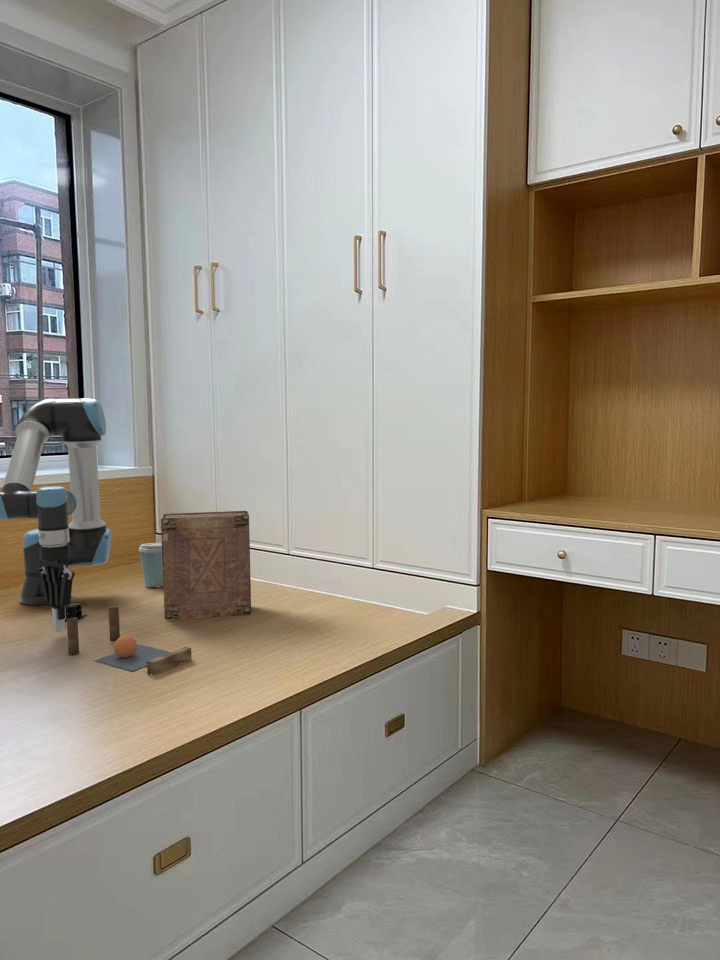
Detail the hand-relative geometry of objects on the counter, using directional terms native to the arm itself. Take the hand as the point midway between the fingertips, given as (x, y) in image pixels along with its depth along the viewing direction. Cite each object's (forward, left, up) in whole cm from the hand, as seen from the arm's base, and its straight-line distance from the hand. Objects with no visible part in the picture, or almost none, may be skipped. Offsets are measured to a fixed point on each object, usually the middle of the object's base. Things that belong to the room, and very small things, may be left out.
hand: (59, 630), depth 197 cm
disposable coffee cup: (-53, -22, -2) cm, 57 cm away
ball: (+1, +29, +1) cm, 29 cm away
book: (-38, +18, -2) cm, 42 cm away
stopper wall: (0, +43, -2) cm, 43 cm away
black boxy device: (-13, -13, -3) cm, 19 cm away
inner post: (-6, +15, -2) cm, 16 cm away
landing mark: (0, +31, -2) cm, 31 cm away
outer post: (+6, +15, -2) cm, 16 cm away
